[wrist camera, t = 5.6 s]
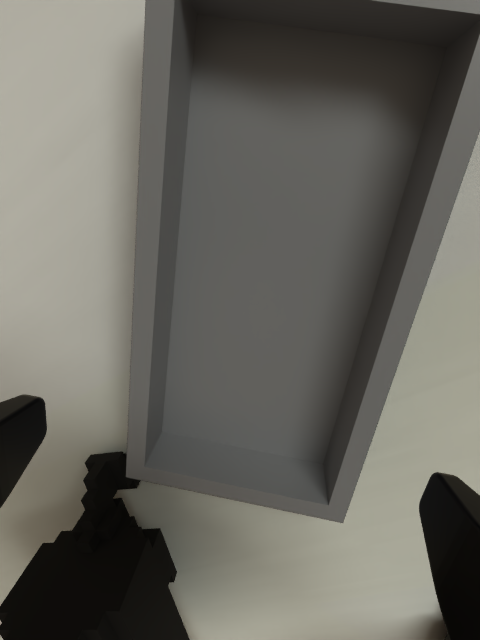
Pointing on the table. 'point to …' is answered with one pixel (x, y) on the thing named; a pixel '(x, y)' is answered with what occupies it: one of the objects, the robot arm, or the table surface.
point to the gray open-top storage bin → (288, 232)
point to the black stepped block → (97, 574)
